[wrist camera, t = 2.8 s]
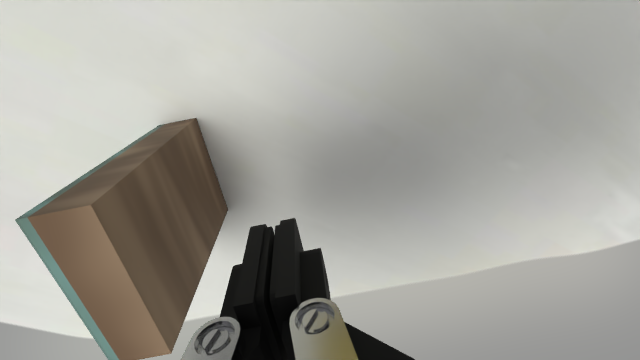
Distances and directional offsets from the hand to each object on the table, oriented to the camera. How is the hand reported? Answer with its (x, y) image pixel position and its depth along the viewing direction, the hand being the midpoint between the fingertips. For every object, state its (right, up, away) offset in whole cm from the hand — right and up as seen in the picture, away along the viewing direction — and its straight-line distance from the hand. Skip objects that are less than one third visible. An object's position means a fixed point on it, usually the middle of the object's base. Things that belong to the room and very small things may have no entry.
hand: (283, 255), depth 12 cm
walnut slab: (-7, +4, +11) cm, 13 cm away
